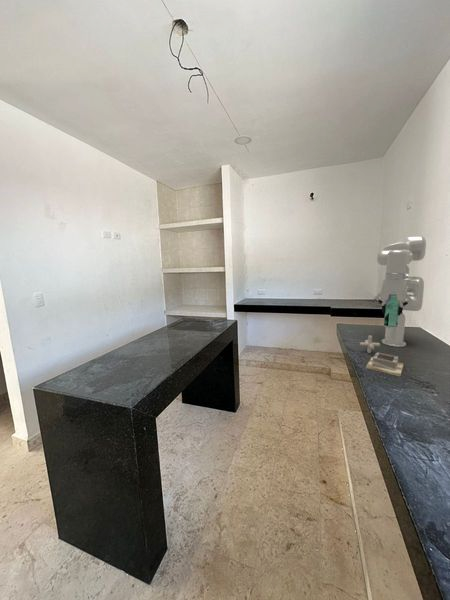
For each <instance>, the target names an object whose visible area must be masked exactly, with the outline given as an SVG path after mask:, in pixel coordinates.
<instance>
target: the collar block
mask: <svg viewBox="0 0 450 600" xmlns="http://www.w3.org/2000/svg"><path fill="white" fill-rule="evenodd" d="M404 365H405V364H404V363H403V362H399V356H398V355H392V354H387V353H382V352H376V353H375V354H374V356H371V358H370V359H369V360H368V362H367V364H366V366H365V369H368V370H371V371H376V372H378V373H383V374H387V375H391V376H396V377H401V376H402V371H403V369H404Z"/></svg>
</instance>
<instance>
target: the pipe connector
mask: <svg viewBox="0 0 450 600" xmlns="http://www.w3.org/2000/svg"><path fill="white" fill-rule="evenodd" d="M372 340H373V335H368V336H367V339H365V340H364V342H363V341H361V342H359V346H362V347H363V346H365V347H366V346H367V350H366V352H367V353H368V354H371V353H372V350H374V349H375V347H380V346H381V344H380V342H373V341H372Z"/></svg>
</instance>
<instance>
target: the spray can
mask: <svg viewBox="0 0 450 600" xmlns="http://www.w3.org/2000/svg"><path fill="white" fill-rule="evenodd" d="M385 304H386V307H385V314H384V320H383V321H384V322H383V327H384V328H386V327H387V328H397V326H398V316H399V315H398V311H399V305H400V304H399V301H397V294H396V292H391V293H389V297H388V300H386V303H385Z"/></svg>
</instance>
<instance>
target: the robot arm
mask: <svg viewBox="0 0 450 600" xmlns="http://www.w3.org/2000/svg"><path fill="white" fill-rule="evenodd" d="M426 249H427V241H426V239H425V237H424V236H423V235H410V236H409V235H408V236H400V237H397V238H396V239H394V241H393V243H391V244H389V245H386V246H383V247H381V248H380V249H379V251H378V253H377V256H376V261H377V263H378V265H380V266H385V276H384V277H385V278H384V279H382V284H381V289H380V293H378V294H377V295H376V296H374V299H375V301H376V302H378V303H379V304H380V305H381V312H382V314H383V315H385V307H386V300H388V297H389V293H391V292H396V294H397V301H399V304H400V305H399V311H398V315H399V316H398V326H397V328H387V327H385V333H384V338H383V339H381V343H382V344H384V345H386V346H389V347H395V348H402V347H406V346H407V342H405V341H404V336H405V327H406V325H405V324H406V315H405V314H404V313H403V311H412V312H418V311H419V312H420V311H421V310H422V307H423V301H424V288H425V281H424V278H422V277H420V276H410V267H409V266H408V265H409V264H410V263H411V262H416V261H422V260H423V259H424V258H425V255H426ZM408 293H410V294H408Z"/></svg>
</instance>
